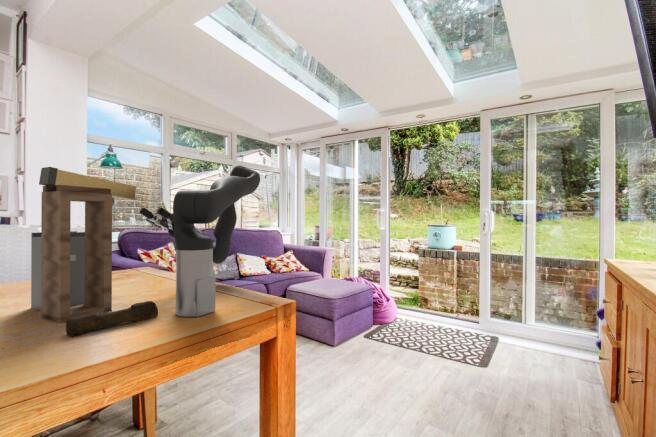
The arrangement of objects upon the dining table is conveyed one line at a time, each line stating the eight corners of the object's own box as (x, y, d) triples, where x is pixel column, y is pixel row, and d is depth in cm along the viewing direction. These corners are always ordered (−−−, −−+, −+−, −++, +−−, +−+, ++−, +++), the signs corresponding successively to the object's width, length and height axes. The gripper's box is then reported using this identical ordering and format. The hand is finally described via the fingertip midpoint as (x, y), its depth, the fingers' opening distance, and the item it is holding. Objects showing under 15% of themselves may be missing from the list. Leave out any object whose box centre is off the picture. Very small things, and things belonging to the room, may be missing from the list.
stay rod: (134, 199, 98) (136, 185, 98) (47, 183, 79) (49, 166, 79) (126, 199, 100) (128, 186, 100) (38, 184, 80) (41, 167, 81)
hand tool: (68, 340, 69) (68, 318, 69) (64, 335, 71) (64, 314, 71) (162, 319, 83) (162, 301, 83) (155, 316, 86) (155, 298, 86)
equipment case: (91, 302, 98) (91, 232, 98) (47, 312, 88) (47, 233, 88) (75, 299, 102) (75, 231, 101) (31, 308, 92) (31, 232, 92)
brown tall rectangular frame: (111, 310, 90) (112, 188, 90) (60, 323, 79) (61, 184, 79) (92, 306, 93) (92, 189, 93) (41, 318, 83) (41, 186, 83)
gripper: (176, 223, 122) (140, 200, 109) (204, 224, 116) (170, 199, 103) (167, 241, 119) (130, 219, 106) (196, 243, 113) (159, 220, 100)
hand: (149, 209), depth 105 cm, fingers open, 8 cm apart
